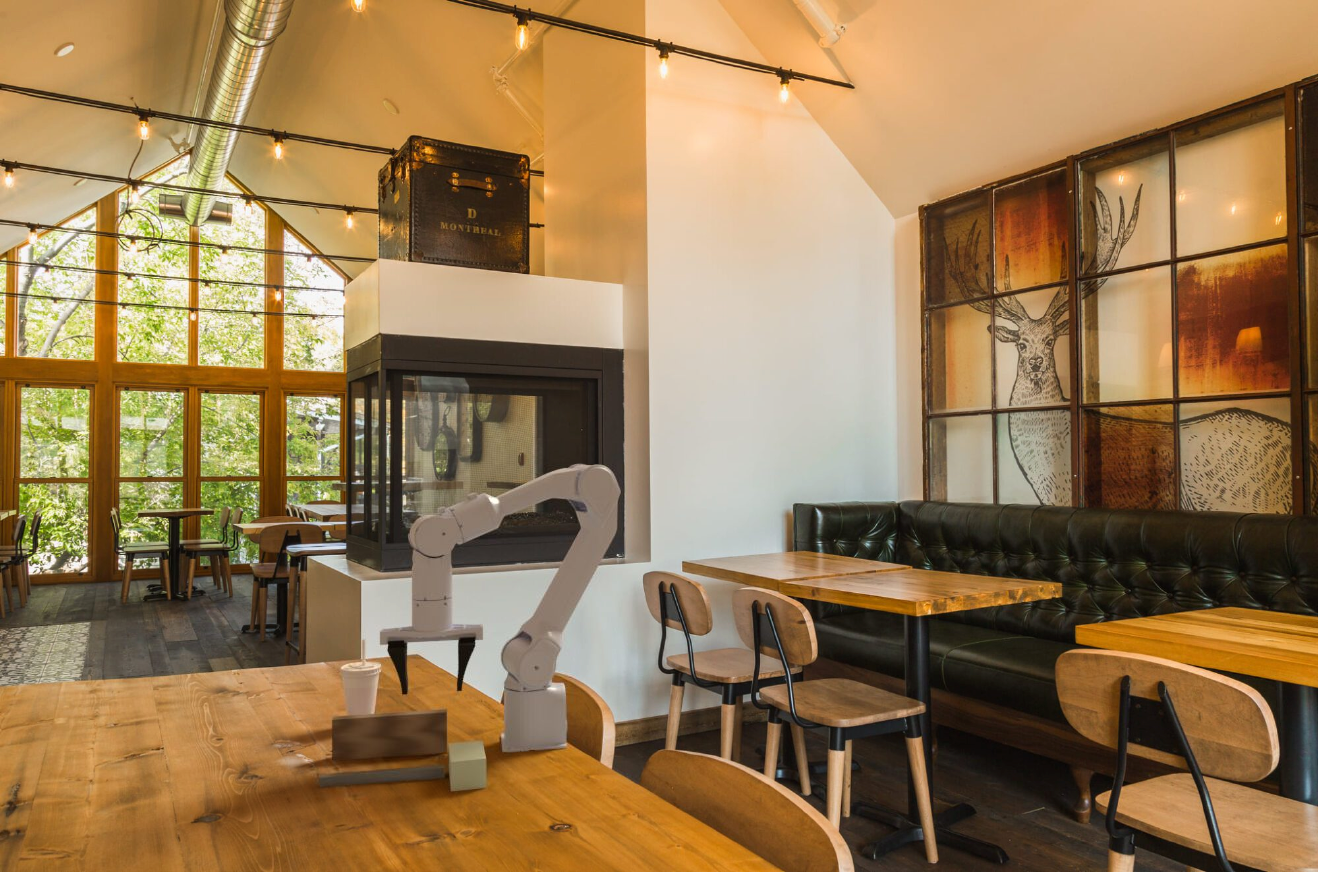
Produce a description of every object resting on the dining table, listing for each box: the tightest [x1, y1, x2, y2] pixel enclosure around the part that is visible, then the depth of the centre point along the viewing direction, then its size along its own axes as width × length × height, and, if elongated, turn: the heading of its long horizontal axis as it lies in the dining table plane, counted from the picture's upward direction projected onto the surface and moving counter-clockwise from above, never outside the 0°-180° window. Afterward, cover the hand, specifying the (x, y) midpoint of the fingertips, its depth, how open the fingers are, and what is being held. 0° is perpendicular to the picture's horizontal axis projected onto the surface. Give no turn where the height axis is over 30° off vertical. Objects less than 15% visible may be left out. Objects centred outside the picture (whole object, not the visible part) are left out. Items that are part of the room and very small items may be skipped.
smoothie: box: [339, 638, 382, 716], centre depth 143 cm, size 6×6×14 cm
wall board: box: [331, 708, 448, 761], centre depth 129 cm, size 16×2×6 cm, turn 102°
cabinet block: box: [448, 740, 487, 792], centre depth 118 cm, size 4×8×4 cm, turn 15°
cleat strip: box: [318, 764, 446, 788], centre depth 118 cm, size 16×1×2 cm, turn 102°
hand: (432, 691), depth 129 cm, fingers open, 7 cm apart
